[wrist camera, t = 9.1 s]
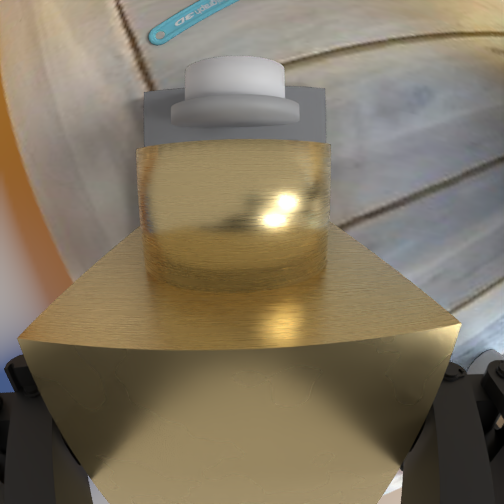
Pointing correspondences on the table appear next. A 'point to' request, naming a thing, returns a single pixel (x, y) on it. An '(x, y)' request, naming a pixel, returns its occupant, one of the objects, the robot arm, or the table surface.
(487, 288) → the table surface
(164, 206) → the brass gate valve
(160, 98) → the pipe run plate
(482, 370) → the coffee cup
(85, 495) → the robot arm
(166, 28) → the adjustable wrench
